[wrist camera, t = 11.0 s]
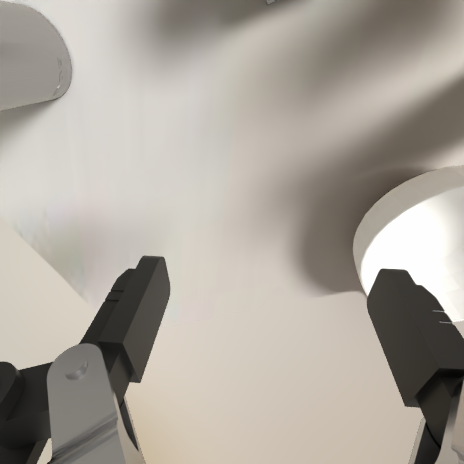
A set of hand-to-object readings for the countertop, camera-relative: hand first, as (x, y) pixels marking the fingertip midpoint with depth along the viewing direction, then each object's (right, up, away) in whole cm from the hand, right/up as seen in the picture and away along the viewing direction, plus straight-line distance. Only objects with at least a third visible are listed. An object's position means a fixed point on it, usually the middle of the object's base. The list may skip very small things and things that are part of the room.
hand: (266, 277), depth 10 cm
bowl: (+24, +3, +26) cm, 36 cm away
